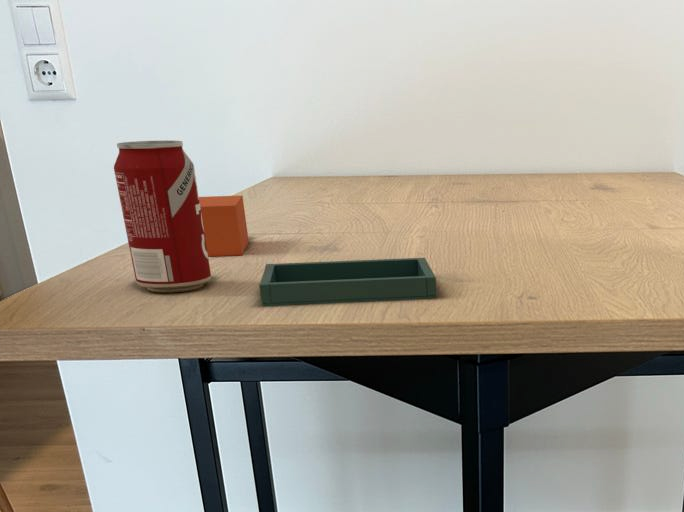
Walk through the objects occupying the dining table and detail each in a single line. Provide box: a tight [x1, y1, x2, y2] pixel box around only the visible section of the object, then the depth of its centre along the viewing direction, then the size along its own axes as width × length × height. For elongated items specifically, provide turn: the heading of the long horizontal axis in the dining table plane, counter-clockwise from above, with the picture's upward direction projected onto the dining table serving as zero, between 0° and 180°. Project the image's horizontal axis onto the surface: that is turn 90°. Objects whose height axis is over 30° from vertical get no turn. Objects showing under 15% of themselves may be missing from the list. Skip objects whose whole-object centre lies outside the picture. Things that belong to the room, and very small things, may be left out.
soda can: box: [113, 140, 212, 294], centre depth 84 cm, size 7×7×12 cm
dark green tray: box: [258, 257, 437, 307], centre depth 82 cm, size 15×10×2 cm
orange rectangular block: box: [199, 195, 250, 257], centre depth 105 cm, size 10×6×5 cm, turn 8°
